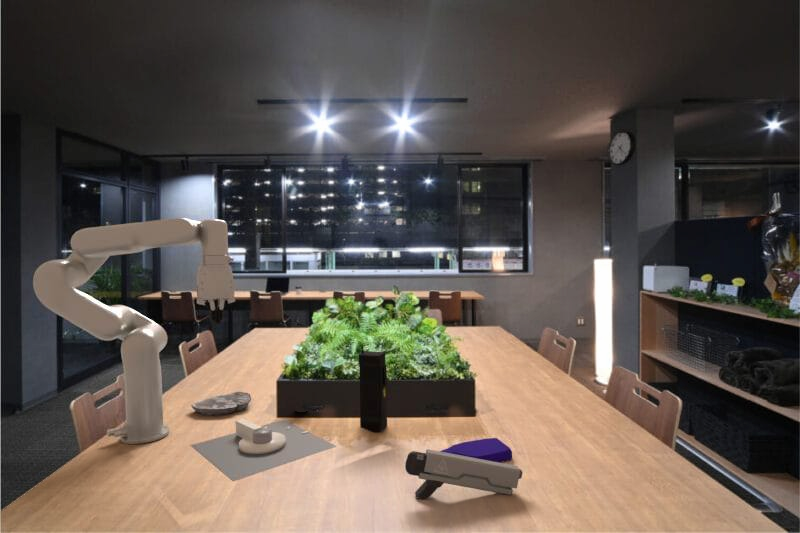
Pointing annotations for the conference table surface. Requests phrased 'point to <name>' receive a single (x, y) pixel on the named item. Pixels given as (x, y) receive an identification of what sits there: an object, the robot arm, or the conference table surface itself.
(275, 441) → the dial rotor
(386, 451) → the conference table surface
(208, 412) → the brain slice
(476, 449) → the purple faceted wedge
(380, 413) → the black tall block
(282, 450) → the dial plate
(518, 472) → the gun
